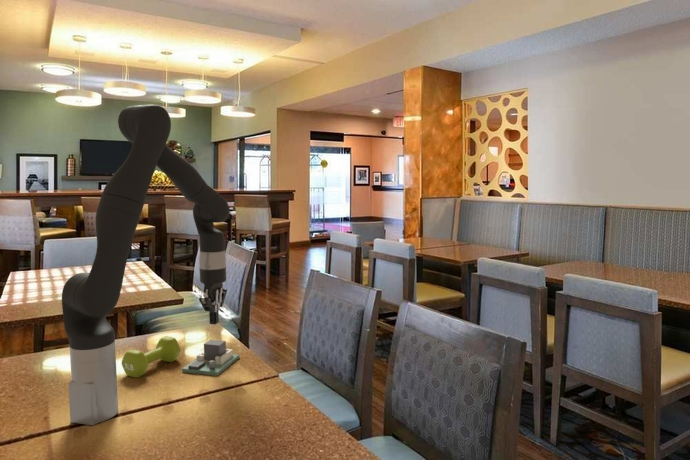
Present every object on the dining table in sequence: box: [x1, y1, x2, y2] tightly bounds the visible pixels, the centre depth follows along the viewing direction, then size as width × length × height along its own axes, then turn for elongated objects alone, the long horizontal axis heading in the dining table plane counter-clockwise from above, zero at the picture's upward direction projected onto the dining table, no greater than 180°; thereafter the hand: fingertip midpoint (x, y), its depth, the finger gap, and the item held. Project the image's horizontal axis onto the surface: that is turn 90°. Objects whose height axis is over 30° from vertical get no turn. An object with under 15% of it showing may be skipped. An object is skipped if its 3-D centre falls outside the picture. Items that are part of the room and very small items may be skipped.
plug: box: [203, 339, 227, 361], centre depth 144 cm, size 4×6×5 cm
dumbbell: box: [121, 335, 181, 379], centre depth 140 cm, size 16×8×7 cm, turn 155°
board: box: [181, 348, 241, 377], centre depth 143 cm, size 14×11×3 cm
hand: (214, 323), depth 143 cm, fingers closed
